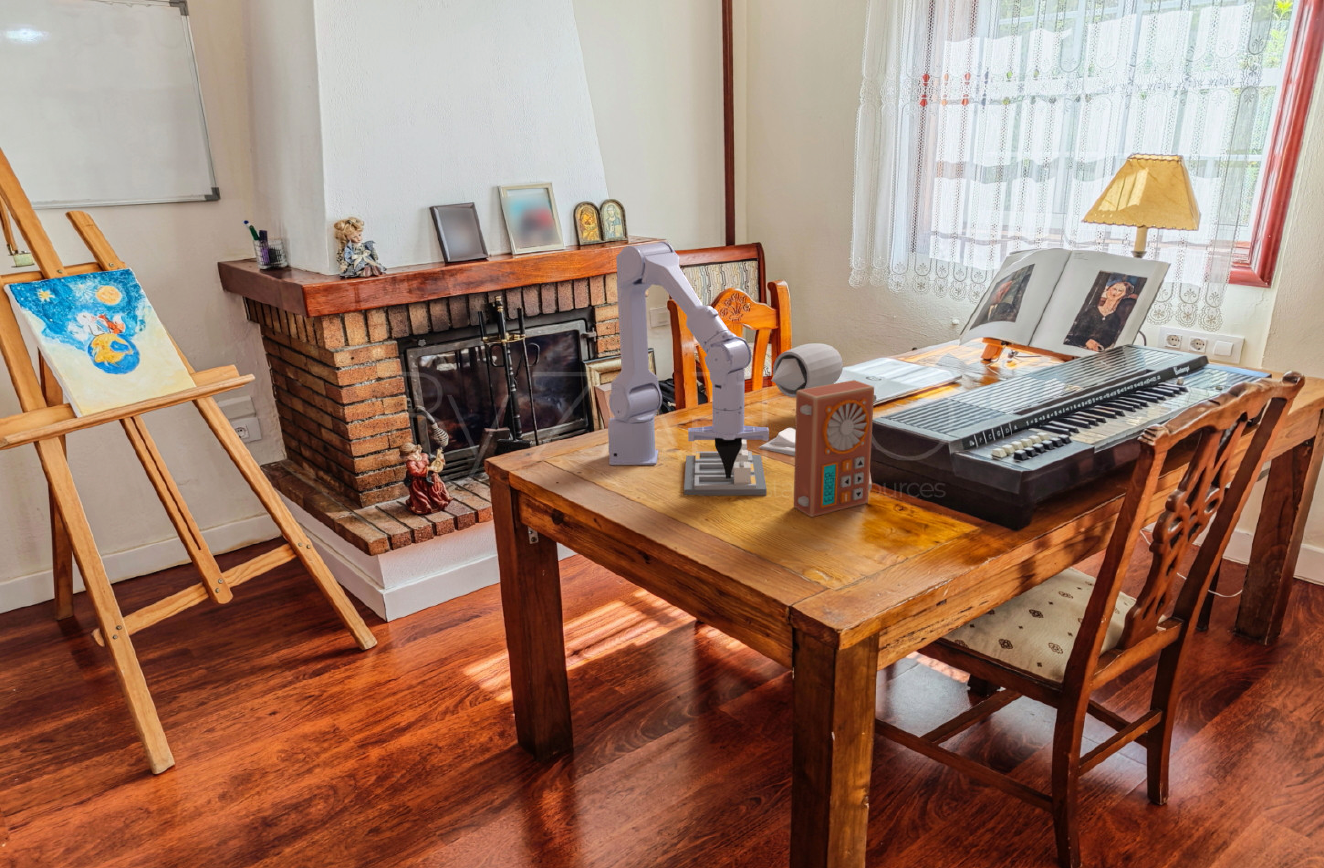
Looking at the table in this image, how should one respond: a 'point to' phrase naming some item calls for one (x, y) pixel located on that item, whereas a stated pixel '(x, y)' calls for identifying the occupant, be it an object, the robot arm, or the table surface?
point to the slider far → (744, 445)
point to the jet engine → (806, 368)
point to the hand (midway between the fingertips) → (728, 476)
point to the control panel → (833, 447)
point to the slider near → (742, 472)
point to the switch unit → (720, 476)
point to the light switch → (782, 442)
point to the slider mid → (741, 457)
